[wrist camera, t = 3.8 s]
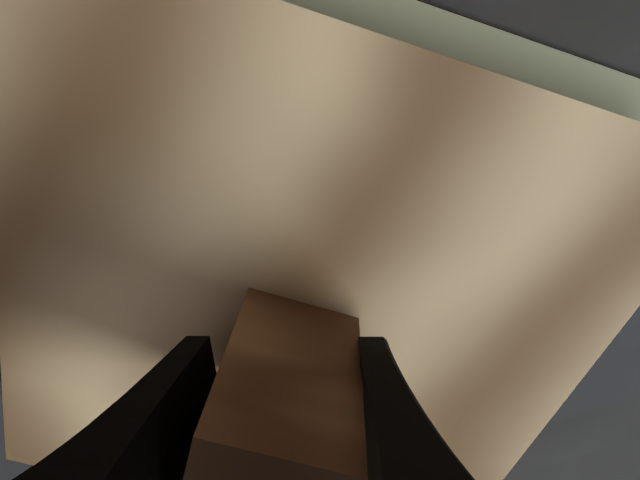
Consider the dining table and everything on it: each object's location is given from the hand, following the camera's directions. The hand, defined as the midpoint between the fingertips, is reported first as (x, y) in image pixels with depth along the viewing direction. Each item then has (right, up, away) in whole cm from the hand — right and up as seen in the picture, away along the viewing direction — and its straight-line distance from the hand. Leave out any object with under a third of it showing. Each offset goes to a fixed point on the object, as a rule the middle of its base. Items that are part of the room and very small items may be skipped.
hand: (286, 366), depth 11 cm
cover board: (0, +1, +2) cm, 2 cm away
